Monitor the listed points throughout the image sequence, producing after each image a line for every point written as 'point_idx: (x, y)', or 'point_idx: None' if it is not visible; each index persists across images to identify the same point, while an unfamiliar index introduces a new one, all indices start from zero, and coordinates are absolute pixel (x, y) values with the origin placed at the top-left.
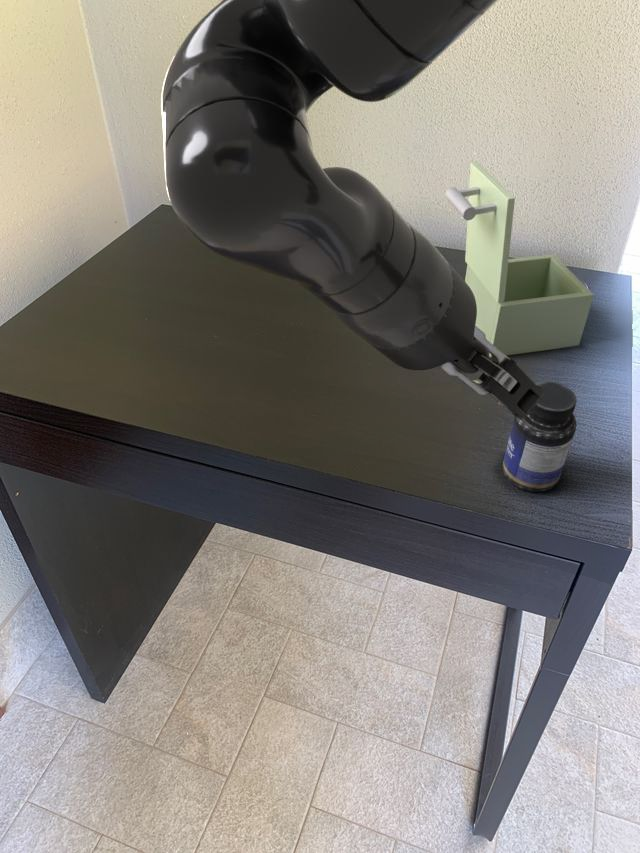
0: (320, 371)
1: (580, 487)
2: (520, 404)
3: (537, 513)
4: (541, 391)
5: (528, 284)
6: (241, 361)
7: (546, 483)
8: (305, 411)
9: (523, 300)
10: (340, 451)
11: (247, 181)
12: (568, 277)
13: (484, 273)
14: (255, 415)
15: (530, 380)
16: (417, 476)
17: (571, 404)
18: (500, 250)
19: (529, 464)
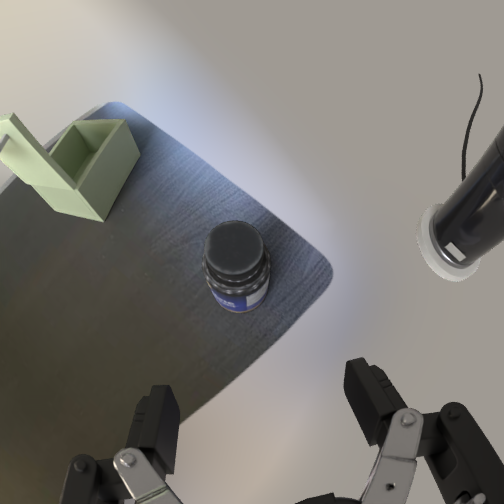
0: (40, 367)
1: (275, 259)
2: (447, 447)
3: (284, 313)
4: (470, 414)
5: (75, 151)
6: (12, 411)
7: (267, 289)
8: (74, 415)
9: (87, 168)
10: (130, 425)
11: None
12: (97, 124)
13: (44, 180)
14: (65, 450)
15: (494, 452)
16: (191, 386)
17: (257, 237)
18: (39, 158)
19: (255, 300)
